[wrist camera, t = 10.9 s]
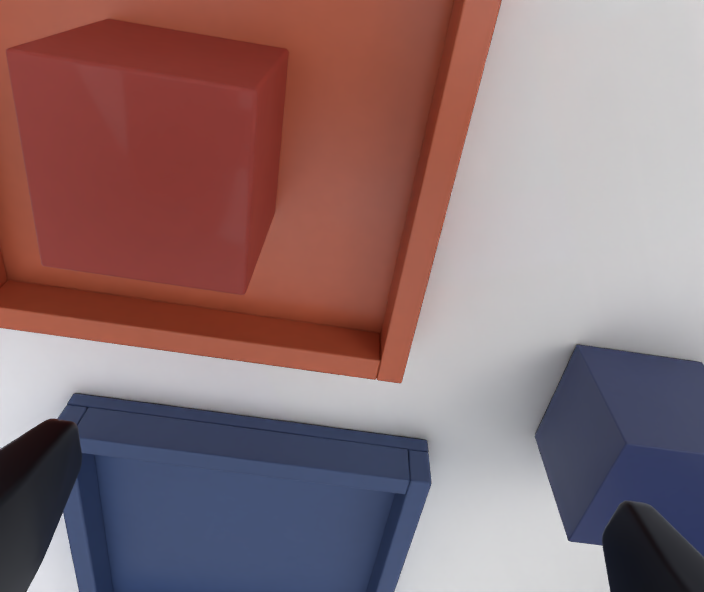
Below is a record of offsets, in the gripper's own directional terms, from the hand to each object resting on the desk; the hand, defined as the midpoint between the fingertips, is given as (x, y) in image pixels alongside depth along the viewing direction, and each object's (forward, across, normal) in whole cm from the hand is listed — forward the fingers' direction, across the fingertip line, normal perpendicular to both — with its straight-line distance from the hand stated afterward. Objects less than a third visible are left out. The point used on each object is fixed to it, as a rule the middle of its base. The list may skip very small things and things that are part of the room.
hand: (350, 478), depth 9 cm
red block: (+9, +5, -3) cm, 10 cm away
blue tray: (+10, +3, +15) cm, 18 cm away
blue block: (+10, -10, +5) cm, 15 cm away
